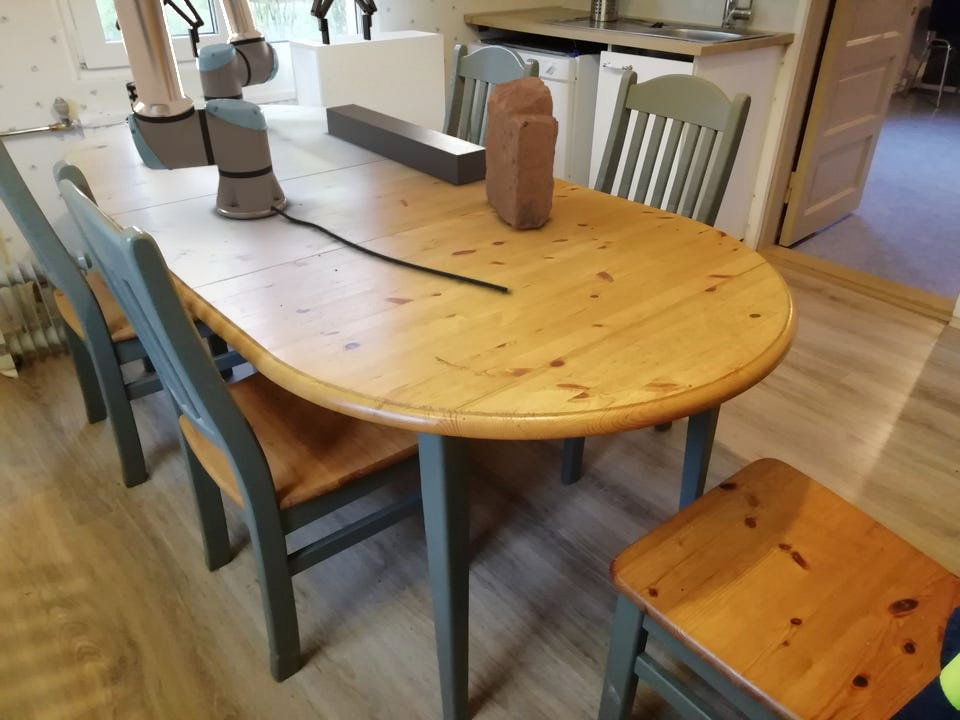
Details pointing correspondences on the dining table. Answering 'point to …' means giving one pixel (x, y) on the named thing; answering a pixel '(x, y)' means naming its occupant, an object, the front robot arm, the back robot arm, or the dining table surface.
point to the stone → (521, 151)
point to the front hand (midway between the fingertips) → (168, 59)
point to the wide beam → (409, 143)
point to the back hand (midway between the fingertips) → (347, 42)
